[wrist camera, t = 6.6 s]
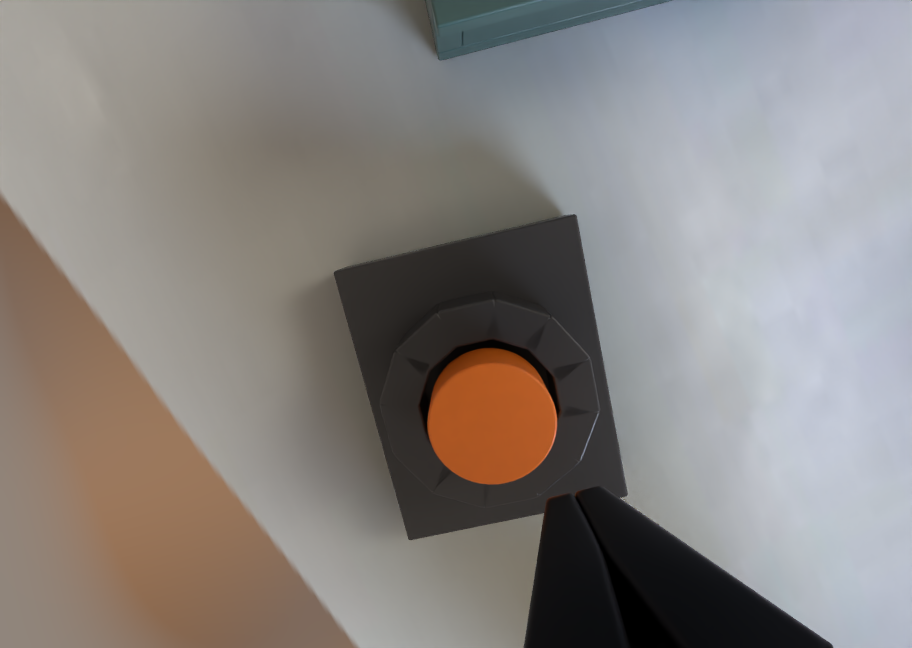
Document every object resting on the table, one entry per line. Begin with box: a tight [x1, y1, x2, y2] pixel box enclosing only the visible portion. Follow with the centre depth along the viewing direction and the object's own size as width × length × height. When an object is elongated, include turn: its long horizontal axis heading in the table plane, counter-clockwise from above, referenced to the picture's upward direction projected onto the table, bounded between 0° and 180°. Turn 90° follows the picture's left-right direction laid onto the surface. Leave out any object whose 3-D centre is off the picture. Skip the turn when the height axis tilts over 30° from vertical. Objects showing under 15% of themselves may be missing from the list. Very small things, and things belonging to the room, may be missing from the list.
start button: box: [427, 348, 557, 484], centre depth 15 cm, size 4×4×2 cm
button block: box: [334, 214, 627, 540], centre depth 17 cm, size 10×8×4 cm
